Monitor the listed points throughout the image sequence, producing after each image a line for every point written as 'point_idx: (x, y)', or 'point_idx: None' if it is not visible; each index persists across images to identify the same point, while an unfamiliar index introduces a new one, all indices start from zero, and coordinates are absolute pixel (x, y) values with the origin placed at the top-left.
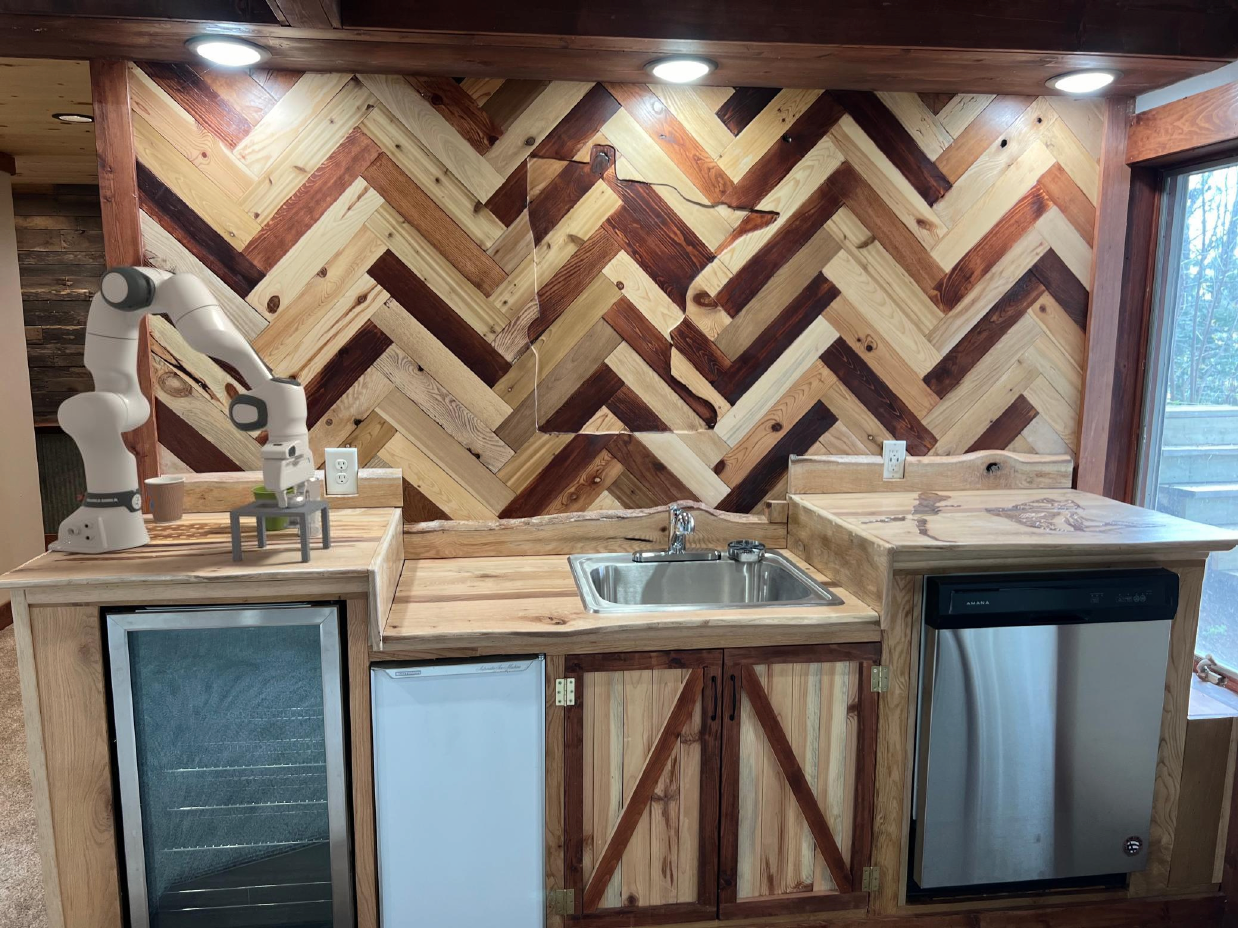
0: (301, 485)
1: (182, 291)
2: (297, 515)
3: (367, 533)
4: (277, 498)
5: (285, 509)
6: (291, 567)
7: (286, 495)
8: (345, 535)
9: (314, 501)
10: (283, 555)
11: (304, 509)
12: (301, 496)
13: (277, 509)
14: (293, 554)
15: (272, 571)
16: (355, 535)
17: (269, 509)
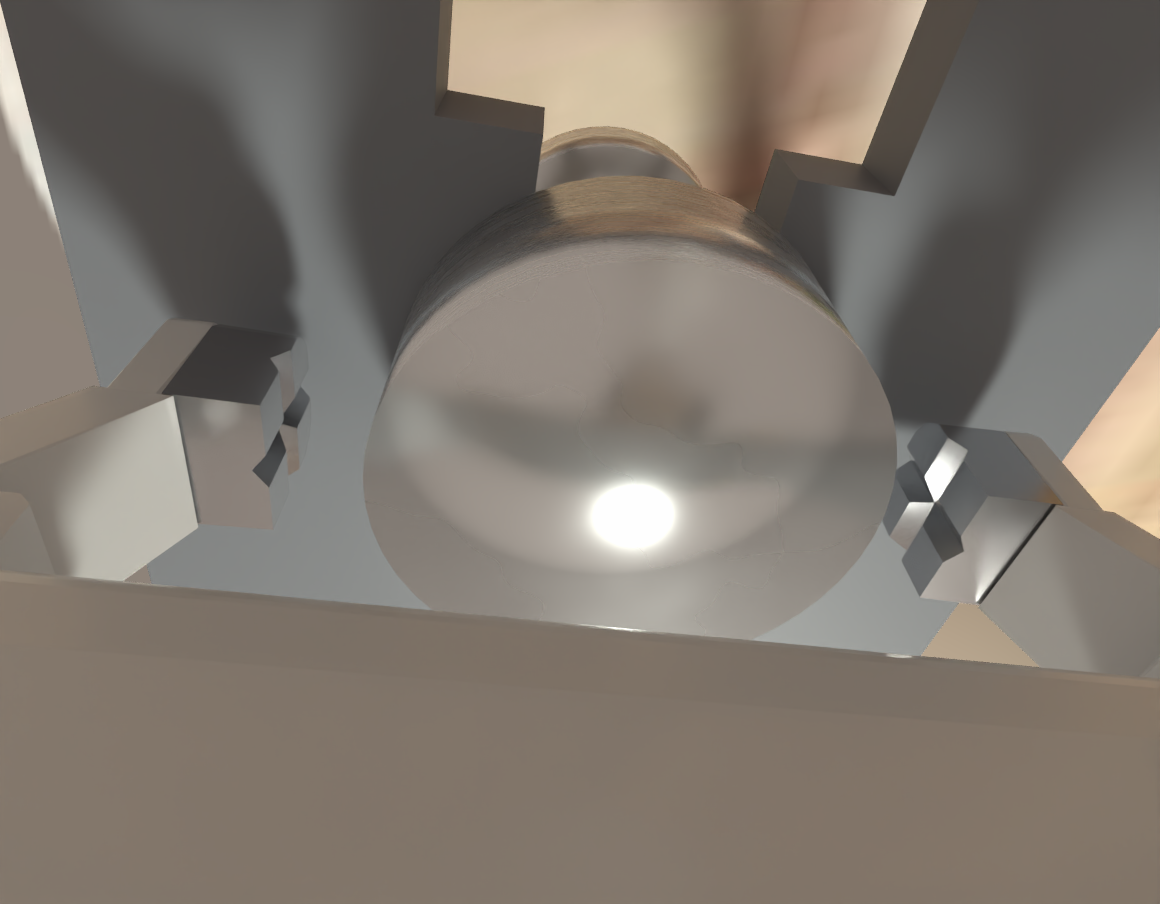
0: (1147, 668)
1: None
2: None
3: (1107, 511)
4: (33, 414)
5: (319, 358)
6: None
7: (740, 395)
8: (1129, 394)
9: (896, 580)
10: (564, 31)
11: (343, 584)
12: None
13: (305, 221)
14: (591, 124)
15: (8, 88)
16: (1088, 455)
17: (286, 43)
